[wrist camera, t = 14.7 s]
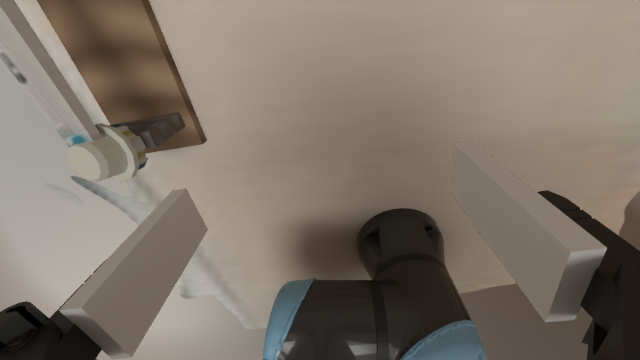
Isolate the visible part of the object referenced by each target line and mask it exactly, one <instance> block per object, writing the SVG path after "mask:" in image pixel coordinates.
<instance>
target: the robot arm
mask: <svg viewBox="0 0 640 360" xmlns="http://www.w3.org/2000/svg"><path fill="white" fill-rule="evenodd" d="M451 195H452V196H453V197H454V199H455V200H456V201H457V203H458V204H459V205H460V207H461V208H462V209H463V211H464V212H465V214H466V215H467V216H468V218H469V219H470V220H471V222H472V223H473V224H474V226H475V227H476V228H477V230H478V231H479V233H480V234H481V235H482V237H483V238H484V239H485V241H486V242H487V243H488V245H489V246H490V248H491V249H492V250H493V252H494V253H495V254H496V256H497V257H498V258H499V260H500V261H501V262H502V264H503V265H504V267H505V268H506V269H507V271H508V272H509V273H510V275H511V276H512V277H513V279H514V280H515V282H516V283H517V284H518V285H519V287H520V288H521V290H522V291H523V292H524V293H525V295H526V296H527V298H528V299H529V301H530V302H531V303H532V305H533V306H534V307H535V309H536V310H537V311H538V313H539V314H540V315H541V317H542V318H543V320H544V321H545V322H551V321H552V322H553V321H564V320H575V319H576V316H577V314H578V312H579V310H580V308H581V306H582V307H583V308H584V309H585V310H586V312H587V313H588V314H589V315H590V316H591V317H592V318H593V320H592V322H591V324H590V326H589V328H588V331H587V332H586V334H585V336H584V338H583V340H582V343H585V344H588V354H587V360H640V251H639V250H638V249H636V248H635V247H633V246H632V245H631V244H629V243H628V242H626V241H625V240H623V239H622V238H621V237H620V236H618V235H617V234H615V233H614V232H613V231H611V230H610V229H608V228H607V227H606V226H604V225H603V224H601V223H600V222H599V221H597V220H596V219H592V218H591V216H590V215H589V214H588V213H586V212H585V211H583V210H580V208H579V207H578V206H576V205H575V204H574V203H572V202H571V201H569V200H568V199H567V198H565V197H562V196H560V195H557V194H555V193H553V192H550V191H541V192H536V191H535V190H534V189H532V188H531V187H530V186H528V185H527V184H526V183H525V182H523V181H522V180H521V179H520V178H518V177H517V176H516V175H515V174H513V173H512V172H511V171H510V170H508V169H507V168H506V167H504V166H503V165H502V164H501V163H499V162H498V161H497V160H496V159H494V158H493V157H492V156H491V155H489V154H488V153H487V152H486V151H484V150H483V149H482V148H480V147H479V146H478V145H477V144H475V143H474V142H473V141H467V142H461V143H455V144H454V152H453V171H452V190H451ZM207 230H208V229H207V227H206V225H205V223H204V221H203V219H202V217H201V216H200V214H199V212H198V210H197V208H196V206H195V204H194V202H193V200H192V199H191V197H190V195H189V193H188V191H187V189H180V190H174V191H172V192H171V193H170V194H169V195H168V196H167V197H166V198H165V199H164V200H163V201H162V202H161V203H160V204H159V205H158V207H157V208H156V209H155V210H154V211H153V212H152V213H151V214H150V215H149V216H148V217H147V218H146V219H145V220H144V221H143V222H142V223H141V224H140V225H139V226H138V228H137V229H136V230H135V231H134V232H133V233H132V234H131V235H130V236H129V237H128V238H127V239H126V240H125V241H124V242H123V243H122V244H121V245H120V246H119V247H118V249H117V250H116V251H115V252H114V253H113V254H112V255H111V256H110V257H109V258H108V259H107V260H106V261H104V262H103V263H102V264H101V265H100V266H99V267H98V268H97V269H96V270H95V271H94V274H93V275H91V276H90V277H89V278H88V279H87V280H86V281H85V283H84V284H82V285H81V286H80V287H79V288H78V289H77V290H76V291H75V292H74V293H73V294H72V295H71V296H70V298H69V299H68V300H67V301H66V302H65V303H64V304H63V305H62V306H61V307H60V308H59V309H58V310H57V311H56V312H55V313H54V314H53V315H52V316H51V317H50V318H48V317H47V316H46V315H44V314H43V313H42V312H41V311H40V310H39V309H37V308H36V307H35V306H34V305H33V304H31V303H30V302H21V303H18V304H16V305H13V306H11V307H8V308H6V309H5V310H3V311H1V312H0V360H97V359H95V358H96V357H97V356H98V354H99V353H100V351H101V350H103V351H104V352H105V353H106V354H107V355H109V356H110V357H111V358H112V359H117V358H127V357H132V356H133V354H134V353H135V351H136V349H137V348H138V346H139V344H140V343H141V341H142V339H143V338H144V336H145V334H146V333H147V331H148V329H149V328H150V326H151V324H152V323H153V321H154V319H155V318H156V316H157V314H158V313H159V311H160V309H161V307H162V306H163V304H164V302H165V301H166V299H167V297H168V296H169V294H170V292H171V291H172V289H173V287H174V286H175V284H176V282H177V281H178V279H179V277H180V276H181V274H182V272H183V271H184V269H185V267H186V266H187V264H188V262H189V261H190V259H191V257H192V256H193V254H194V252H195V250H196V249H197V247H198V245H199V244H200V242H201V240H202V239H203V237H204V235H205V234H206V232H207ZM357 247H358V254H359V258H360V260H361V262H362V264H363V266H364V267H365V269H366V271H367V272H368V274H369V276H370V277H371V279H372V280H317V279H316V278H312V279H311V280H296V281H290V282H287V283H286V284H285V285H284V286H283V287H282V288H281V289H280V291H279V293H278V295H277V297H276V299H275V302H274V305H273V308H272V311H271V314H270V318H269V322H268V326H267V331H266V337H265V342H264V349H263V356H264V358H263V360H487V356H486V353H485V350H484V348H483V345H482V342H481V340H480V337H479V335H478V333H477V327H476V325H475V323H474V322H472V320H471V318H470V316H469V314H468V311H467V309H466V307H465V305H464V303H463V301H462V299H461V297H460V295H459V293H458V291H457V289H456V287H455V285H454V283H453V281H452V279H451V277H450V275H449V273H448V271H447V269H446V267H445V259H444V243H443V237H442V234H441V232H440V230H439V228H438V227H437V225H436V223H435V222H434V221H433V220H432V219H431V218H430V217H429V216H427V215H426V214H424V213H422V212H419V211H416V210H410V209H396V210H391V211H387V212H384V213H381V214H379V215H377V216H375V217H374V218H372V219H371V220H369V221H368V222H367V223H366V224H365V225H364V226H363V228H362V229H361V231H360V233H359V235H358V239H357Z"/></svg>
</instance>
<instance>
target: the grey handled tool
mask: <svg viewBox="0 0 640 360" xmlns="http://www.w3.org/2000/svg"><path fill="white" fill-rule="evenodd" d="M0 61H1V62H2V64H3V65H4V66H5V68H6V69H7V70H8V71H9V72H10V74H11V75H12V76H13V78H14V79H15V80H16V81H17V83H18V84H19V85H20V86H21V88H22V89H23V90H24V91H25V92H26V94H27V95H28V96H29V97H30V99H31V100H32V101H33V102H34V104H35V105H36V106H37V107H38V109H39V110H40V111H41V112H42V114H43V115H44V116H45V117H46V119H47V120H48V121H49V122H50V123H51V125H52V126H53V127H54V128H55V130H56V131H57V132H58V133H59V135H60V136H61V137H62V139H63V140H64V141H65V142H66V144H67V145H68V146H69V148H68V152H67V158H68V161H69V164H70V165H71V167H72V168H73V170H74V171H75V172H76V173H77V174H79V175H80V176H81V177H83V178H84V179H87V180H91V181H101V180H104V179H107V178H110V179H114V180H117V181H124V180H127V179H130V178H132V177H134V176H135V175H136V173H137V170H139V169H141V168H143V167H144V166H145V164H146V162H147V160H148V158H146V156H145V150H144V148H146V146H145V145H144V143H143V141H142V140H141V138H140V136H136V135H135V134H134V133H132V132H131V131H130V130H129V129H128V127H127V126H124V125H120V124H114V125H110V126H108V125H105V124H101V123H100V124H96V125H94V123H93V122H92V120H91V119H90V117H89V116H88V114H87V112H86V111H85V109H84V108H83V106H82V105H81V103H80V102H79V100H78V99H77V97H76V95H75V94H74V92H73V91H72V89H71V88H70V86H69V85H68V83H67V82H66V80H65V78H64V77H63V75H62V74H61V72H60V71H59V69H58V68H57V66H56V65H55V63H54V61H53V60H52V58H51V57H50V55H49V54H48V52H47V51H46V49H45V48H44V46H43V45H42V43H41V41H40V40H39V38H38V37H37V35H36V34H35V32H34V31H33V29H32V28H31V26H30V24H29V23H28V21H27V20H26V18H25V17H24V15H23V14H22V12H21V11H20V9H19V7H18V6H17V4H16V3H15V1H14V0H0Z"/></svg>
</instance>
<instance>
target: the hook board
mask: <svg viewBox="0 0 640 360" xmlns="http://www.w3.org/2000/svg"><path fill="white" fill-rule="evenodd" d="M37 1H38V3H39V5H40V6H41V8H42V10H43V11H44V13H45V15H46V17H47V18H48V20H49V22H50V23H51V25H52V27H53V28H54V30H55V32H56V33H57V35H58V37H59V38H60V40H61V42H62V44H63V45H64V47H65V49H66V50H67V52H68V54H69V55H70V57H71V59H72V60H73V62H74V64H75V65H76V67H77V69H78V71H79V72H80V74H81V76H82V77H83V79H84V81H85V82H86V84H87V86H88V87H89V89H90V91H91V92H92V94H93V96H94V97H95V99H96V101H97V103H98V104H99V106H100V108H101V109H102V111H103V113H104V114H105V116H106V118H107V119H108V121H109V123H110V124H111V125H114V124H120V125H124V126H127V127H128V129H129V130H130V131H131V132H132V133H134V134H135V135H136V136H140V138H141V140H142V141H143V143H144V145H145V146H146V148H144V150H145V153H150V152H157V151H163V150H169V149H175V148H182V147H188V146H194V145H200V144H203V143H204V142H205V141H206V138H205V135H204V133H203V131H202V128H201V126H200V123H199V121H198V119H197V116H196V114H195V111H194V109H193V107H192V104H191V102H190V99H189V97H188V95H187V92H186V90H185V87H184V85H183V83H182V80H181V78H180V75H179V73H178V71H177V68H176V66H175V63H174V61H173V59H172V56H171V54H170V51H169V49H168V47H167V44H166V42H165V39H164V37H163V35H162V32H161V30H160V27H159V25H158V23H157V20H156V18H155V15H154V13H153V11H152V8H151V6H150V3H149V1H148V0H37Z"/></svg>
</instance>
